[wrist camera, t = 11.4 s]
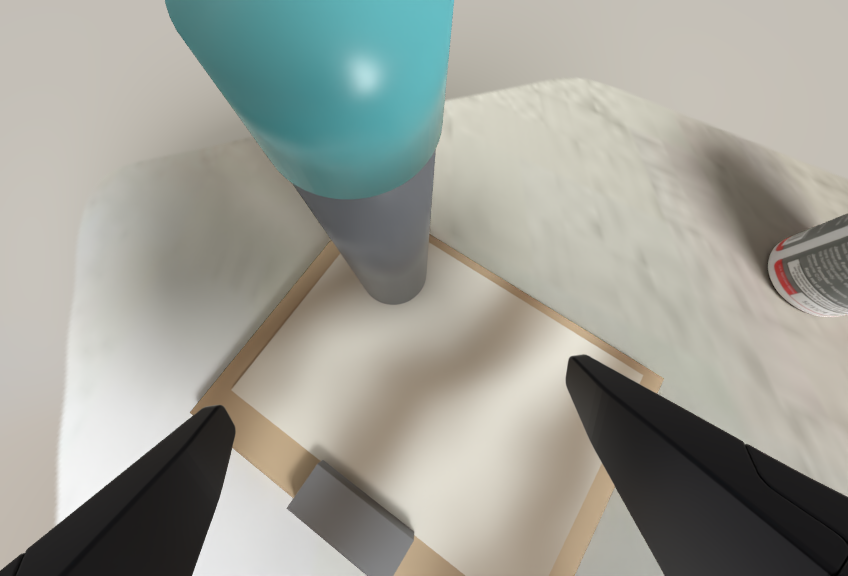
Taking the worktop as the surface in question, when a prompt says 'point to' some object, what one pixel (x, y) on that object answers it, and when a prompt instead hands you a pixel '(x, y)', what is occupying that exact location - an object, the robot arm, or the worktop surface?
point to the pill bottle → (814, 269)
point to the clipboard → (424, 421)
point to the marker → (340, 113)
